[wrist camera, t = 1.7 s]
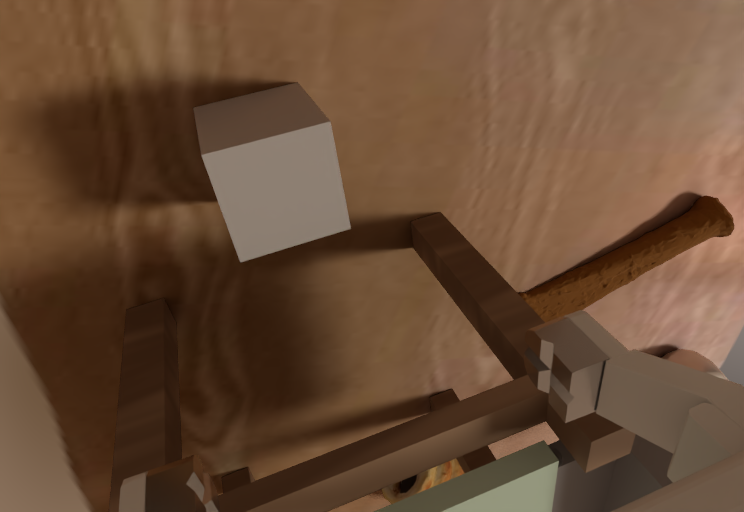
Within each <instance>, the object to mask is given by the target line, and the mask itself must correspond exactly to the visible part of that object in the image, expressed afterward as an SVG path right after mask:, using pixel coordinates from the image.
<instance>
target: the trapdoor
mask: <svg viewBox="0 0 744 512" xmlns="http://www.w3.org/2000/svg"><path fill="white" fill-rule="evenodd" d="M672 456H673V453H671V452H669V451H667V450H665V449H663V448H661V447H659V446H657V445H656V444H654V443H652V442H650V441H648V440H646V439H644V438H642V437H640V436H638V435H637V434H636V435H635V438H634V442H633V445H632V449H631V452H630V454H627V455H625V456H623V457H621V458H618V459H616V460H614V461H612V462H609V463H607V464H605V465H603V466H600V467H598V468H596V469H594V470H591V471H589V472H587V473H585V472H584V470H583V469H582V468H581V467H580V465H579V464H578V463H577V461H576V460H575V459H574V457H573V456H572V455H571V453H570V452H569V451H568V450H567V448H566V447H565V446H564V444H563V443H562V442H561V440H560V439H559V441H557V442H554V443H552V444H550V445H547V444H546V442H545V441H544V440H543V441H541V442H538V443H536V444H534V445H531V446H529V447H527V448H524V449H522V450H519V451H517V452H515V453H512V454H510V455H508V456H505V457H503V458H500V459H498V460H496V461H493V462H491V463H489V464H486V465H484V466H481V467H479V468H477V469H474V470H472V471H470V472H467V473H465V474H462V475H460V476H458V477H455V478H453V479H451V480H448V481H446V482H443V483H441V484H439V485H436V486H434V487H432V488H429V489H427V490H424V491H422V492H420V493H417V494H415V495H413V496H410V497H408V498H405V499H403V500H401V501H398V502H396V503H394V504H391V505H389V506H386V507H384V508H382V509H379V510H377V511H375V512H611V511H613V510H616V509H618V508H620V507H622V506H624V505H626V504H628V503H631V502H633V501H635V500H637V499H639V498H641V497H643V496H646V495H648V494H650V493H652V492H654V491H656V490H659V489H661V488H663V487H665V486H667V485H669V484H671V483H673V482H672V481H671V480H670V479H669V478H668V477H667V472H668V468H669V465H670V462H671V459H672Z"/></svg>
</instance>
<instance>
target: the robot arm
mask: <svg viewBox="0 0 744 512" xmlns="http://www.w3.org/2000/svg"><path fill="white" fill-rule="evenodd" d="M525 342H526V343H527V345H528V346H529V347H528V349H527V350H526V351H525V353H524V365H525V368H526V371H527V374H528V376H529V378H530V379H531V381H532V382H533V384H534V385H535V386H536V388H537V389H539V390H541V391H544V392H546V393H549V402H548V403H549V404H550V405H551V406H552V407H553V409H554V410H555V411H556V412H557V414H558V415H559V416H560V417H561V418H562V420H563V421H564V422H565V423H567V422H570V421H572V420H575V419H577V418H580V417H583V416H585V415H588V414H590V413H593V412H596V413H597V414H598V415H600V416H602V417H604V418H606V419H608V420H610V421H612V422H614V423H616V424H618V425H619V426H621V427H623V428H625V429H627V430H629V431H631V432H633V433H635V434H637V435H638V436H640V437H642V438H644V439H646V440H648V441H650V442H652V443H654V444H656V445H657V446H659V447H661V448H663V449H665V450H667V451H669V452H671V453H673V456H672V459H671V462H670V465H669V468H668V472H667V477H668V478H669V479H670V480H671V481H672V482H673V483H671V484H669V485H667V486H665V487H663V488H661V489H659V490H656V491H654V492H652V493H650V494H648V495H646V496H643V497H641V498H639V499H637V500H635V501H633V502H631V503H628V504H626V505H624V506H622V507H620V508H618V509H616V510H613V511H611V512H744V387H743V386H742V385H740V384H737V383H734V382H731V381H728V380H725V379H722V378H719V377H716V376H713V375H710V374H707V373H704V372H701V371H698V370H695V369H692V368H689V367H686V366H683V365H680V364H677V363H674V362H671V361H668V360H665V359H662V358H659V357H656V356H653V355H650V354H647V353H644V352H641V351H638V350H632V351H629V350H628V349H627V348H626V347H624V346H623V345H622V344H621V343H620V342H619V341H618V340H617V339H616V338H614V337H613V336H612V335H611V334H610V333H609V332H608V331H607V330H606V329H605V328H603V327H602V326H601V325H600V324H599V323H598V322H597V321H596V320H595V319H593V318H592V317H591V316H590V315H589V314H588V313H587V312H585V311H583V310H579V311H576V312H574V313H571V314H568V315H566V316H563V317H559V318H556V319H554V320H551V321H549V322H546V323H544V324H541V325H538V326H536V327H533V328H531V329H528V330H527V332H526V333H525ZM119 512H220V504H219V499H218V495H217V491H216V488H215V485H214V482H213V480H212V478H211V476H210V475H209V474H208V473H204V472H203V464H202V461H201V460H200V458H199V456H198V455H197V454H195V455H192V456H189V457H186V458H183V459H180V460H178V461H175V462H172V463H169V464H166V465H163V466H160V467H157V468H154V469H151V470H148V471H146V472H143V473H140V474H138V475H135V476H132V477H129V478H126V479H124V480H123V483H122V486H121V488H120V501H119Z"/></svg>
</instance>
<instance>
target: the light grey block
mask: <svg viewBox="0 0 744 512" xmlns="http://www.w3.org/2000/svg"><path fill="white" fill-rule="evenodd" d="M193 110H194V116H195V121H196V127H197V133H198V139H199V145H200V151H201V156H202V158H203V161H204V164H205V167H206V169H207V172H208V175H209V178H210V181H211V183H212V186H213V189H214V192H215V194H216V197H217V200H218V203H219V205H220V208H221V211H222V214H223V216H224V219H225V222H226V225H227V227H228V230H229V233H230V236H231V238H232V241H233V244H234V247H235V249H236V252H237V255H238V258H239V260H240V262H244V261H247V260H250V259H254V258H257V257H260V256H263V255H267V254H270V253H273V252H276V251H280V250H283V249H286V248H290V247H293V246H296V245H299V244H303V243H306V242H309V241H312V240H316V239H319V238H322V237H326V236H329V235H332V234H335V233H339V232H342V231H345V230H348V229H351V226H350V221H349V216H348V210H347V205H346V200H345V195H344V189H343V184H342V179H341V174H340V169H339V163H338V158H337V153H336V148H335V143H334V137H333V132H332V127H331V122H330V120H329V119H328V118H327V117H326V116H325V114H324V113H323V112H322V111H321V110H320V108H319V107H318V106H317V105H316V104H315V102H314V101H313V100H312V99H311V98H310V96H309V95H308V94H307V93H306V92H305V90H304V89H303V88H302V87H301V86H300V84H299V83H298V82H297V83H293V84H289V85H285V86H280V87H276V88H272V89H268V90H264V91H260V92H256V93H252V94H247V95H243V96H239V97H235V98H231V99H227V100H223V101H219V102H214V103H210V104H206V105H202V106H198V107H194V108H193Z"/></svg>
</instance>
